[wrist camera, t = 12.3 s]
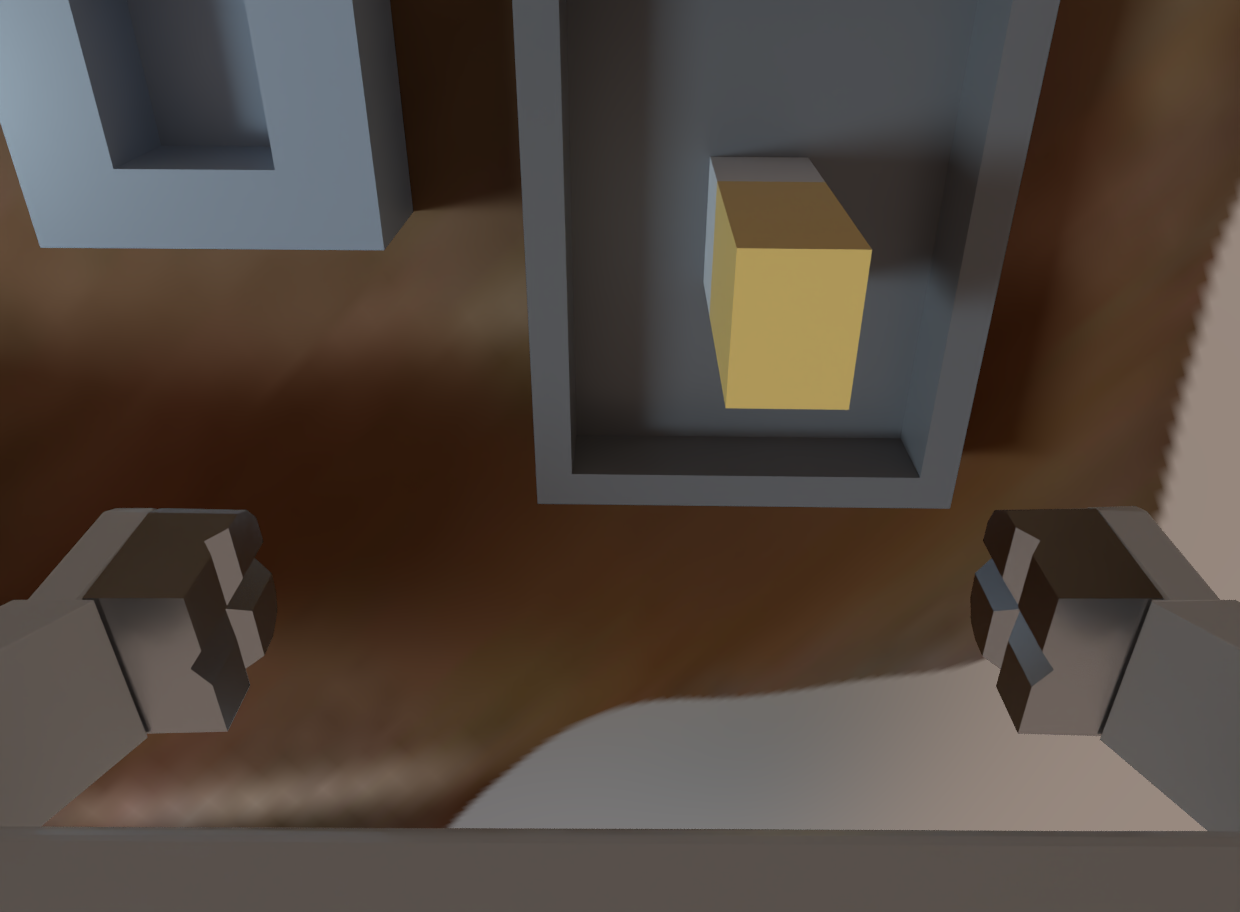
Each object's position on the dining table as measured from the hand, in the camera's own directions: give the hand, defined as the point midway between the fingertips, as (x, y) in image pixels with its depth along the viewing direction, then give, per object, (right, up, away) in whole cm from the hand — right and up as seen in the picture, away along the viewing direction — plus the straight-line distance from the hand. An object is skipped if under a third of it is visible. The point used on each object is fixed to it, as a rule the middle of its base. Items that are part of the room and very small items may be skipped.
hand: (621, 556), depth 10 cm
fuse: (+4, +9, +19) cm, 21 cm away
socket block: (-12, +13, +17) cm, 25 cm away
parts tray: (+4, +9, +20) cm, 22 cm away
